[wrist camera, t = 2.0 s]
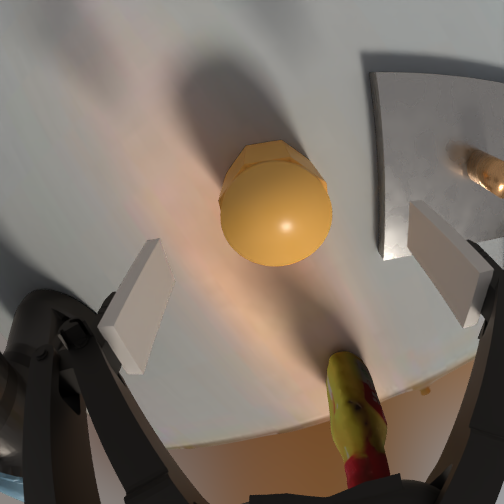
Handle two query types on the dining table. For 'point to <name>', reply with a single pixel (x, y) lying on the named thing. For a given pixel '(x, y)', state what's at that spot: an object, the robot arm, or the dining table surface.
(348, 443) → the bottle
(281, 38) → the dining table surface
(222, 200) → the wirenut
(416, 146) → the plate
